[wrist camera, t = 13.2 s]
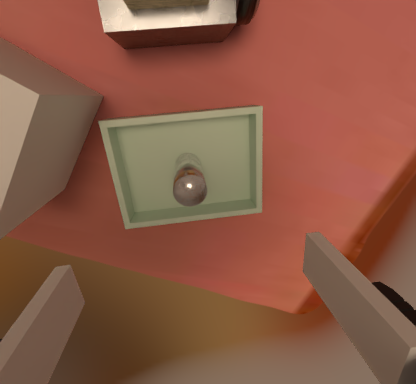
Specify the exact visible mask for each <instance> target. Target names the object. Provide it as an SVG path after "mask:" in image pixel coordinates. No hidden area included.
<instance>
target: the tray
mask: <svg viewBox="0 0 416 384" xmlns="http://www.w3.org/2000/svg"><path fill="white" fill-rule="evenodd" d="M262 121H263V106H258V105H248V106H237V107H226V108H216V109H205V110H194V111H183V112H173V113H162V114H151V115H141V116H130V117H119V118H109V119H105V120H101V121H98V122H99V126H100V130H101V134H102V138H103V142H104V146H105V150H106V154H107V158H108V162H109V166H110V170H111V174H112V178H113V182H114V186H115V190H116V194H117V198H118V202H119V206H120V210H121V214H122V218H123V222H124V226H125V229H131V228H139V227H147V226H156V225H164V224H172V223H180V222H188V221H196V220H205V219H213V218H221V217H229V216H237V215H245V214H254V213H262ZM183 153H192V154H194V155H196V156H197V157H198V159H199V160H200V164H201V168H202V171H203V175H204V179H205V182H206V186H207V195H206V197H205V199H204V200H203V202H201V203H200V204H198V205H196V206H192V207H188V206H184V205H181V204H180V203H178V202H177V201H176V199H175V198H174V195H173V184H174V173H175V163H176V160H177V158H178V157H179V156H180V155H181V154H183Z"/></svg>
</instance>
